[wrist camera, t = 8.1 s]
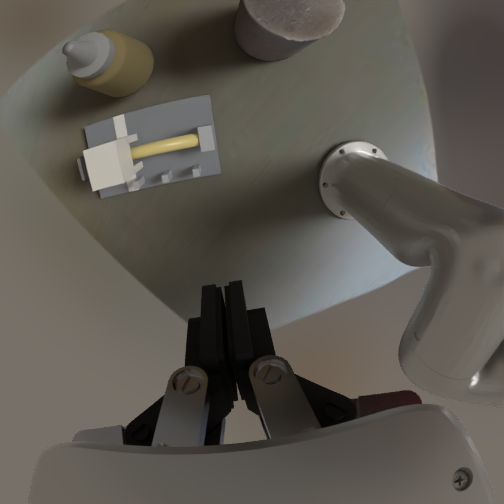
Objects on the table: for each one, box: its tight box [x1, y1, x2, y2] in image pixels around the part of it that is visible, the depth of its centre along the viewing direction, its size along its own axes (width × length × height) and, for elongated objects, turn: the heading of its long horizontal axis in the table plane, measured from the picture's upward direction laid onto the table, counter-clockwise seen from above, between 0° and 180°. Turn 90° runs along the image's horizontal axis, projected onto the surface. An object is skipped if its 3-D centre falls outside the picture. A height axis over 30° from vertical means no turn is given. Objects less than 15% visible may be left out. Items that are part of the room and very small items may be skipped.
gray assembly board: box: [77, 95, 221, 199], centre depth 32 cm, size 18×11×6 cm, turn 96°
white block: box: [83, 133, 143, 191], centre depth 29 cm, size 4×5×8 cm
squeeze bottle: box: [62, 29, 154, 97], centre depth 21 cm, size 8×8×18 cm
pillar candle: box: [234, 0, 346, 61], centre depth 22 cm, size 10×10×15 cm
